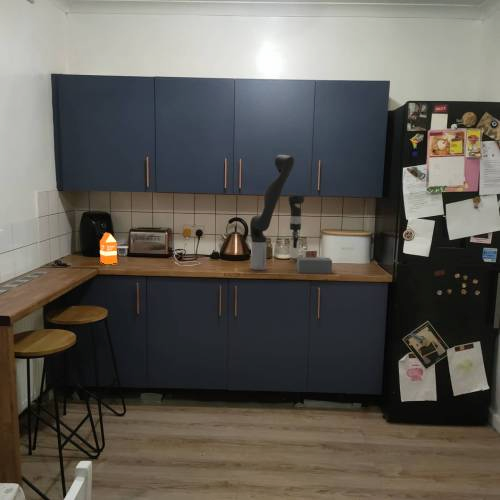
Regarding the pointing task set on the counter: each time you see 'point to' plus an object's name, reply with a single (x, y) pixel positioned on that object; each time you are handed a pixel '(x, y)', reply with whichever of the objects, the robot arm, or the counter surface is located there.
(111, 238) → the orange juice
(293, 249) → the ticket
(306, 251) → the small box
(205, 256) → the counter surface
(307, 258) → the dispenser
